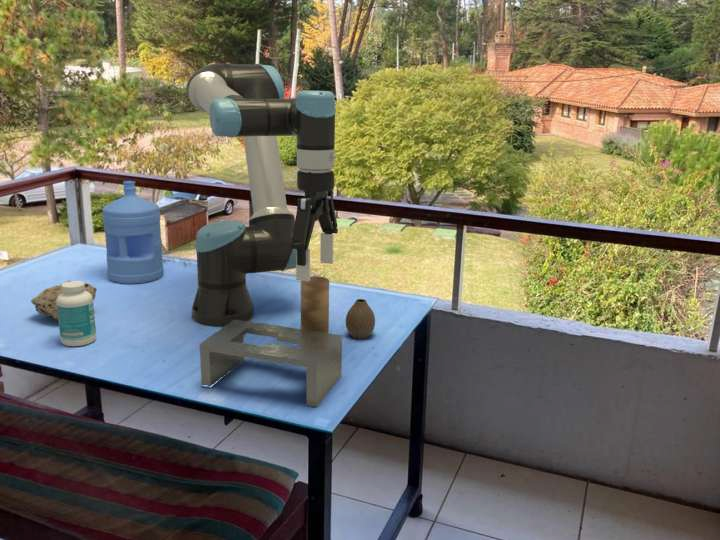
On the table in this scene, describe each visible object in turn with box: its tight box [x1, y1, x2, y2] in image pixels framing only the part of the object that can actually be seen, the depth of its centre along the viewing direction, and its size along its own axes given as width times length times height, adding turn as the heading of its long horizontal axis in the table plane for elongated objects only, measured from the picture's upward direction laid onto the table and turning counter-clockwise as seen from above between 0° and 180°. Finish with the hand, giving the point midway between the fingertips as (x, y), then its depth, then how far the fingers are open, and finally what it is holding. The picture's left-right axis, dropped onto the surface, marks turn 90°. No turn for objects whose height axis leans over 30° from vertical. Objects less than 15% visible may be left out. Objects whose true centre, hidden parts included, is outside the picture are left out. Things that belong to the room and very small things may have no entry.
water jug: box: [101, 180, 165, 285], centre depth 191 cm, size 16×16×28 cm
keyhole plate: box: [199, 319, 343, 408], centre depth 132 cm, size 24×14×9 cm, turn 72°
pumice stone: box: [30, 280, 97, 321], centre depth 163 cm, size 14×12×8 cm
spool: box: [300, 275, 330, 333], centre depth 143 cm, size 6×6×17 cm
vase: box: [345, 298, 376, 340], centre depth 156 cm, size 7×7×9 cm
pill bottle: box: [56, 280, 97, 347], centre depth 148 cm, size 8×7×14 cm
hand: (315, 271), depth 140 cm, fingers open, 13 cm apart
